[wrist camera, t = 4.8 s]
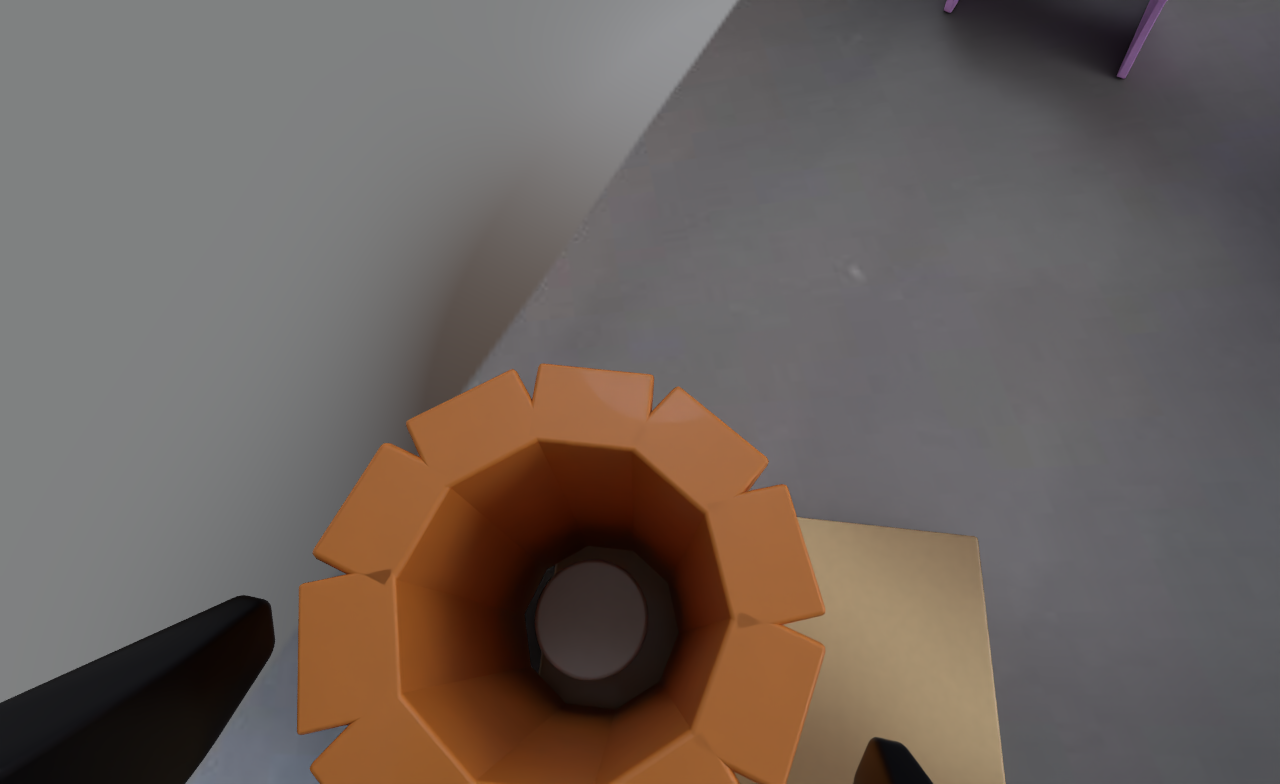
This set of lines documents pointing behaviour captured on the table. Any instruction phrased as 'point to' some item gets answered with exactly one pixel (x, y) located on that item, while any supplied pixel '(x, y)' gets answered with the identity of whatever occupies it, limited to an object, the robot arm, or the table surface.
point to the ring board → (850, 631)
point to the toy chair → (1141, 34)
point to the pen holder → (511, 572)
